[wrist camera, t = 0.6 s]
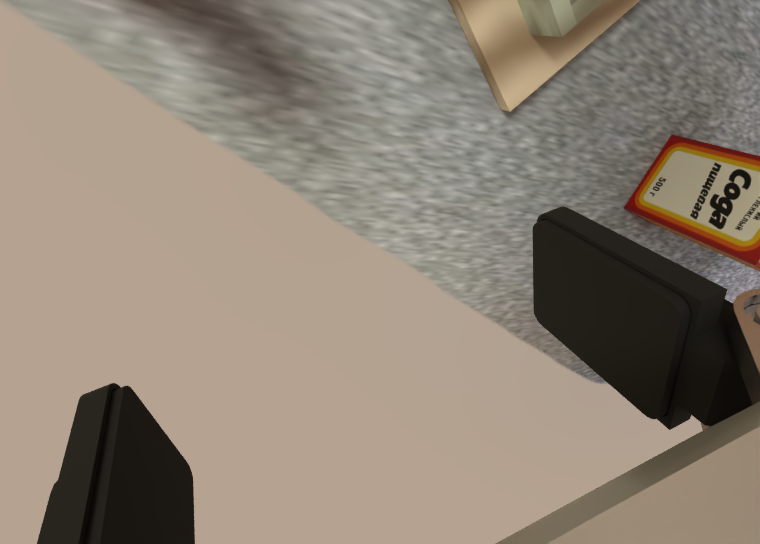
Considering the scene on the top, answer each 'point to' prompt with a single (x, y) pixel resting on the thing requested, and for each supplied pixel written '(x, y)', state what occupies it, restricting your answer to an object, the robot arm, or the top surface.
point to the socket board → (531, 38)
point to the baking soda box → (704, 197)
